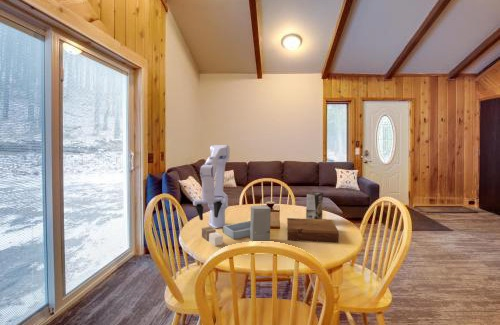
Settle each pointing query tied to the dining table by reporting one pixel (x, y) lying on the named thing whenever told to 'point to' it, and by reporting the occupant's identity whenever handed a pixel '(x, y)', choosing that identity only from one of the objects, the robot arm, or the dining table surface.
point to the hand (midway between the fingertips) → (208, 218)
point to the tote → (237, 230)
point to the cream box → (215, 238)
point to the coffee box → (314, 205)
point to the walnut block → (207, 232)
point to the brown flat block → (312, 230)
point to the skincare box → (260, 223)
